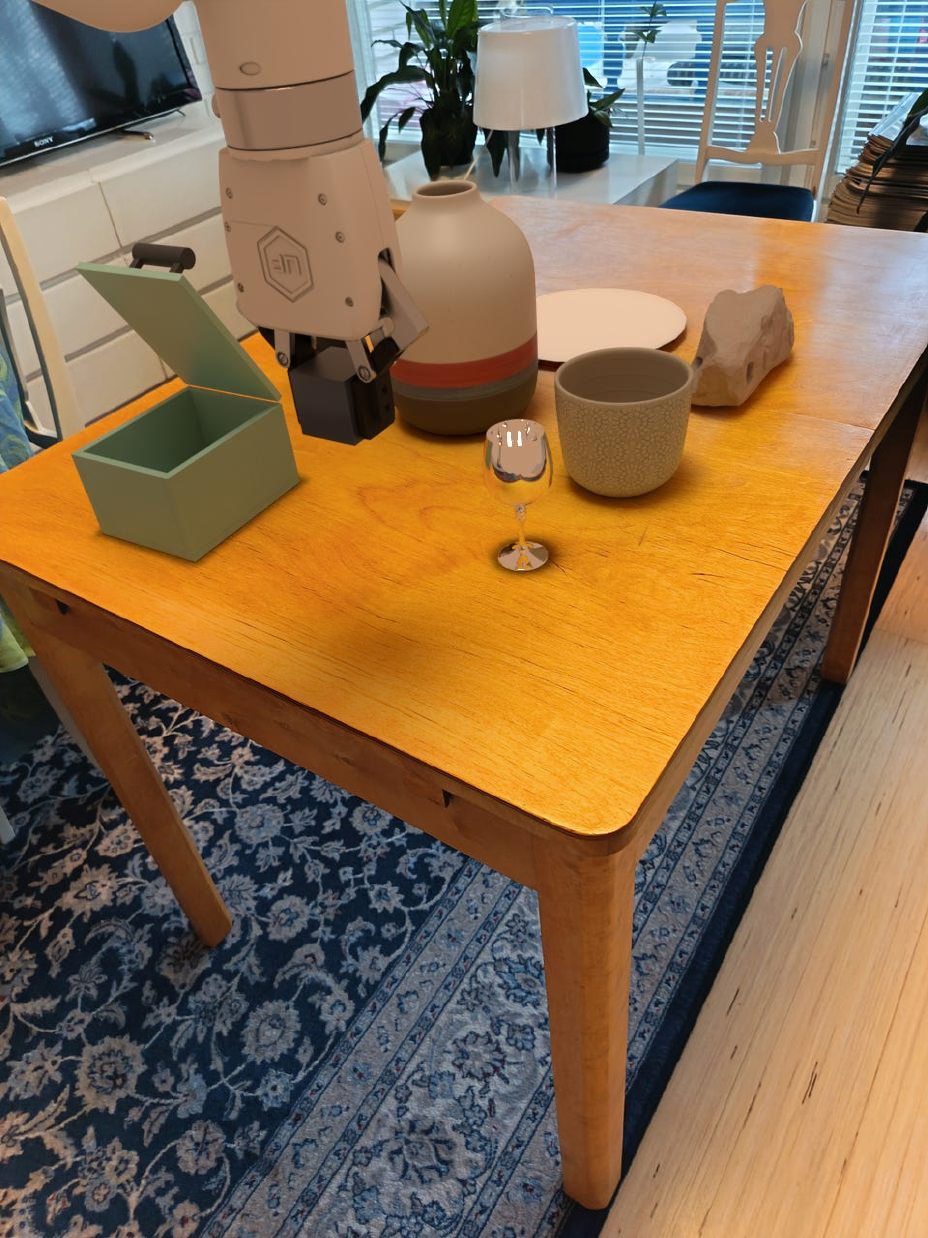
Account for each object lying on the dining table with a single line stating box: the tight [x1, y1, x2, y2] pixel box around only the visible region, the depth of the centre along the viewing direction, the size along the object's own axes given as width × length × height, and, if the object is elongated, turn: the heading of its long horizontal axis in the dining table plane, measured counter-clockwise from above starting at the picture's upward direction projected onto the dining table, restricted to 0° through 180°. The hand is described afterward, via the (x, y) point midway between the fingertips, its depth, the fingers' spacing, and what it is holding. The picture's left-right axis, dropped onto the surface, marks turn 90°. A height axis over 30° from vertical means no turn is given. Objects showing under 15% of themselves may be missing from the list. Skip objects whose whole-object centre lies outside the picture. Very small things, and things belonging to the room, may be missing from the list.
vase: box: [384, 179, 539, 436], centre depth 96 cm, size 17×17×24 cm
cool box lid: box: [75, 242, 283, 403], centre depth 84 cm, size 16×13×5 cm
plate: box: [536, 287, 688, 365], centre depth 117 cm, size 25×25×2 cm
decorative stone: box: [690, 284, 795, 407], centre depth 99 cm, size 20×8×10 cm, turn 145°
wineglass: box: [481, 418, 554, 572], centre depth 76 cm, size 6×6×12 cm
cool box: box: [70, 385, 301, 563], centre depth 89 cm, size 16×13×9 cm
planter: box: [553, 347, 694, 498], centre depth 85 cm, size 12×12×11 cm
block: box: [289, 346, 365, 447], centre depth 59 cm, size 4×4×4 cm
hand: (346, 421), depth 60 cm, fingers closed on block, 4 cm apart
